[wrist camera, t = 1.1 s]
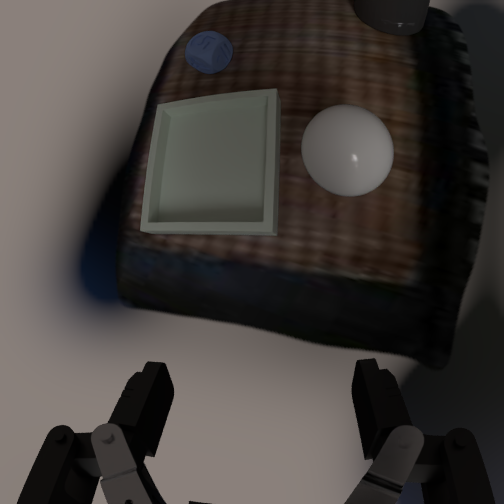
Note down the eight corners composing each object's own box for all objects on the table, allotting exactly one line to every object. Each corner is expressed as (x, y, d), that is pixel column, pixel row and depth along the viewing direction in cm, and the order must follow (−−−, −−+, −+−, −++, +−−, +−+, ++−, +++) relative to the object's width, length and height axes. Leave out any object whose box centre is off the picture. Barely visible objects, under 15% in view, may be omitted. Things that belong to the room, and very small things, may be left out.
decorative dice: (218, 77, 31) (206, 58, 27) (193, 70, 32) (179, 52, 28) (237, 53, 31) (226, 33, 27) (211, 47, 32) (199, 28, 28)
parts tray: (168, 114, 32) (157, 104, 30) (280, 101, 29) (276, 88, 26) (153, 233, 31) (140, 230, 29) (277, 235, 28) (272, 231, 26)
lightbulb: (295, 183, 28) (274, 131, 17) (340, 138, 27) (342, 70, 16) (344, 231, 26) (355, 203, 16) (390, 183, 26) (421, 132, 15)
